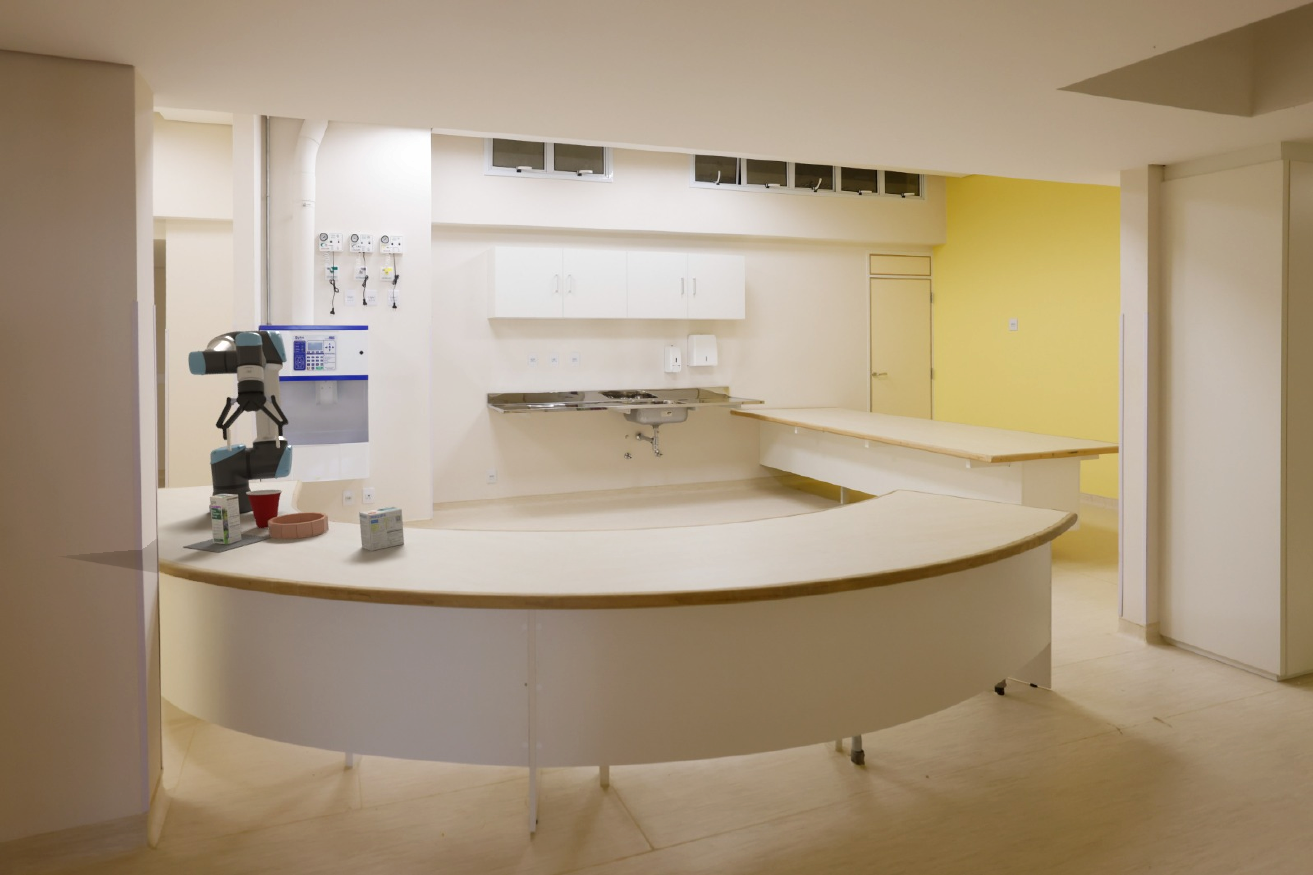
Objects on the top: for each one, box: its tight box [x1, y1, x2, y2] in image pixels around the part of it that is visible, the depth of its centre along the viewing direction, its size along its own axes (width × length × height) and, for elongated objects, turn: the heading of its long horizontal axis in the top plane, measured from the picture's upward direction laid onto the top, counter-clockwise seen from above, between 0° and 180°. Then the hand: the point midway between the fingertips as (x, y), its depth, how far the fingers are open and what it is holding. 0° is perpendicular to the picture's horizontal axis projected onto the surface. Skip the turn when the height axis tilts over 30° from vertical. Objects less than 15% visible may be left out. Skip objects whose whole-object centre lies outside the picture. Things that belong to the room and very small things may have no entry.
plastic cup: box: [246, 489, 283, 529], centre depth 282 cm, size 11×11×12 cm
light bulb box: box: [358, 506, 405, 552], centre depth 254 cm, size 11×7×11 cm, turn 134°
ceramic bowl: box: [267, 511, 330, 540], centre depth 273 cm, size 17×17×4 cm
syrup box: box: [209, 494, 242, 545], centre depth 261 cm, size 6×6×14 cm
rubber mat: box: [183, 533, 272, 553], centre depth 262 cm, size 18×16×1 cm
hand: (254, 448), depth 264 cm, fingers open, 13 cm apart
